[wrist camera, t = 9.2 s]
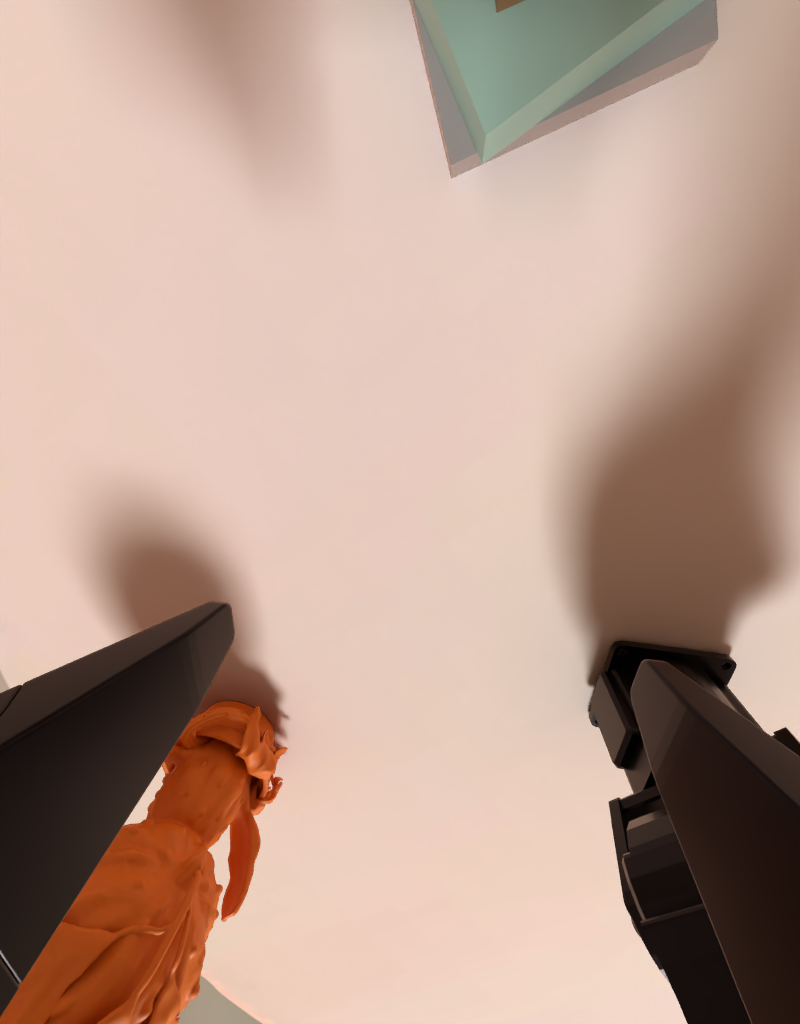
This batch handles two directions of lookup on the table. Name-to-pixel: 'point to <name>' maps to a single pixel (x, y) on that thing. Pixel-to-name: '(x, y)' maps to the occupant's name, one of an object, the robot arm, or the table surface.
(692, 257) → the table surface
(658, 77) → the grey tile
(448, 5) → the teal tile
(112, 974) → the orange statue
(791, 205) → the table surface
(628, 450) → the table surface
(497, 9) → the walnut pillar
